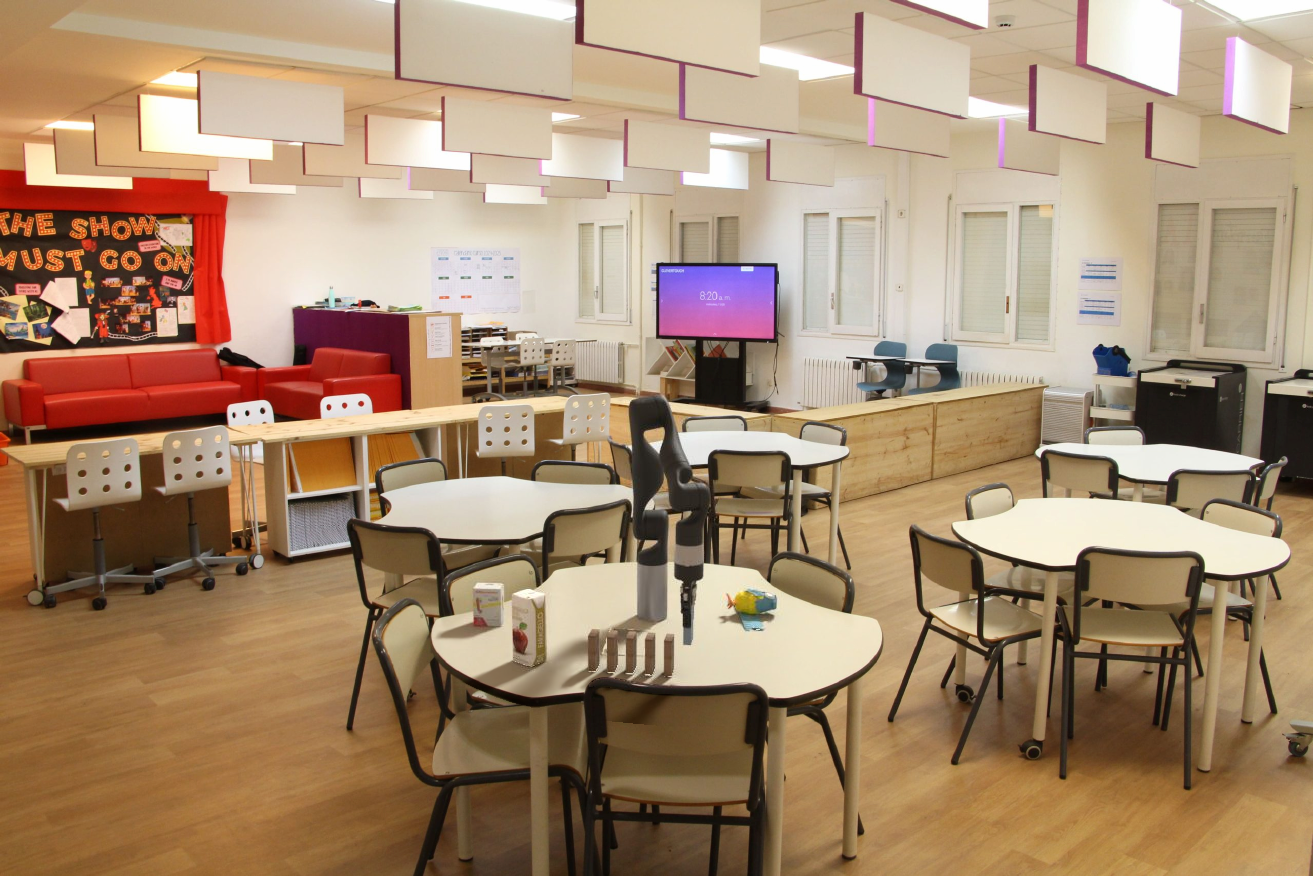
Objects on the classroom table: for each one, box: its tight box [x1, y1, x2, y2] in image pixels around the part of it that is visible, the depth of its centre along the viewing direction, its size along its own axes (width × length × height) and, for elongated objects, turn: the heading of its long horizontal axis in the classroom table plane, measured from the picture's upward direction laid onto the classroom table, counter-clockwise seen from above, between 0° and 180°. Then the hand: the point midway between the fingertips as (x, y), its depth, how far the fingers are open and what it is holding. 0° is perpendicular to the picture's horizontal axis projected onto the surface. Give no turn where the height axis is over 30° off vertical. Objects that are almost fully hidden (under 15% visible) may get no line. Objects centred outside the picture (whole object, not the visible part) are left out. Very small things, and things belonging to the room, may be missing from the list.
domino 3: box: [625, 630, 638, 674], centre depth 258 cm, size 5×2×10 cm, turn 171°
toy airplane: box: [725, 588, 778, 632], centre depth 302 cm, size 28×9×15 cm
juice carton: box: [511, 588, 548, 667], centre depth 263 cm, size 8×9×19 cm
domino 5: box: [663, 633, 675, 677], centre depth 256 cm, size 5×2×10 cm, turn 171°
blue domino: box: [682, 605, 695, 646], centre depth 254 cm, size 5×2×10 cm, turn 171°
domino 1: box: [587, 628, 601, 672], centre depth 259 cm, size 5×2×10 cm, turn 171°
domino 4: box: [644, 631, 656, 675], centre depth 257 cm, size 5×2×10 cm, turn 171°
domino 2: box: [606, 629, 619, 673], centre depth 259 cm, size 5×2×10 cm, turn 171°
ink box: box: [472, 582, 505, 627], centre depth 292 cm, size 9×5×12 cm, turn 87°
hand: (688, 623), depth 254 cm, fingers closed on blue domino, 5 cm apart
